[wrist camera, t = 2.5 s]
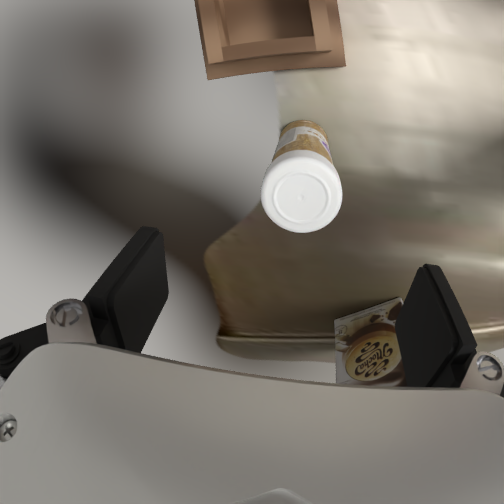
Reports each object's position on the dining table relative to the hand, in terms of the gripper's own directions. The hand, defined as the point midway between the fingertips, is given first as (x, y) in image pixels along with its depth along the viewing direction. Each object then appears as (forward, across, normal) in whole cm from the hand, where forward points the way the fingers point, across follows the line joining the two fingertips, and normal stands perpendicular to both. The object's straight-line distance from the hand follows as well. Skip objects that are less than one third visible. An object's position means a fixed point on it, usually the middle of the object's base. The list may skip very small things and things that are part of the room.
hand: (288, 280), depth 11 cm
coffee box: (+21, -13, +21) cm, 32 cm away
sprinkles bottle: (+21, -1, 0) cm, 21 cm away
